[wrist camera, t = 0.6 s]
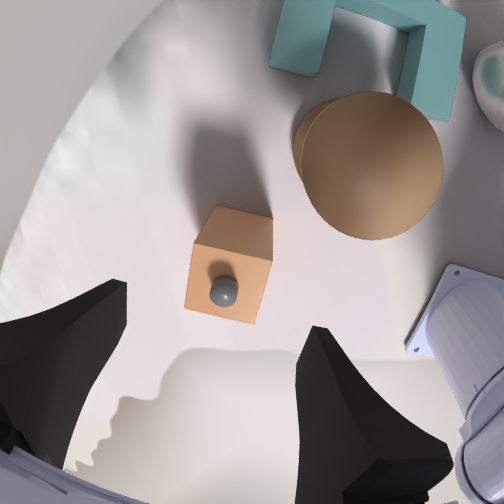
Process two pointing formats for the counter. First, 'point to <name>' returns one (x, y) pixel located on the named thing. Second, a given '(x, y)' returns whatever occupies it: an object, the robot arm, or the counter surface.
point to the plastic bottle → (490, 82)
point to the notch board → (394, 14)
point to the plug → (230, 265)
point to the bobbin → (369, 164)
